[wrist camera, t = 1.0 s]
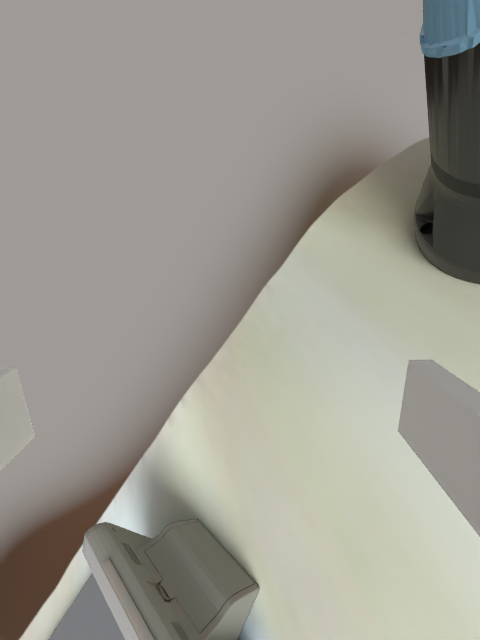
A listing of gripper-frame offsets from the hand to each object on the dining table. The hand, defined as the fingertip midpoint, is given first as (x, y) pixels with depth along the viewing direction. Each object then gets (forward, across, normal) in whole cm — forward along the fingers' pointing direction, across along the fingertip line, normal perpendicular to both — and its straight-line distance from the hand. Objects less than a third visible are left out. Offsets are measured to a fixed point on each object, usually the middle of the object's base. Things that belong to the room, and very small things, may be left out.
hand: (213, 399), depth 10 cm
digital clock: (+11, -3, -28) cm, 30 cm away
